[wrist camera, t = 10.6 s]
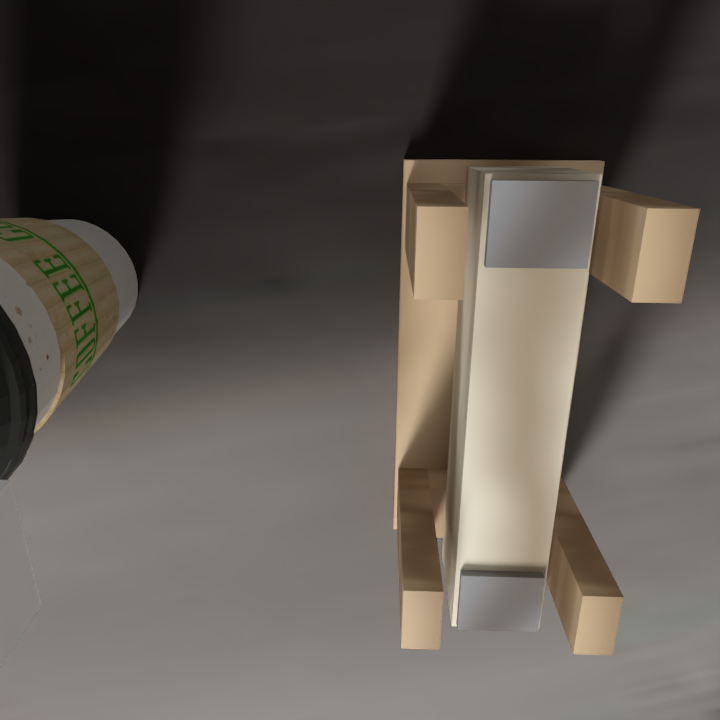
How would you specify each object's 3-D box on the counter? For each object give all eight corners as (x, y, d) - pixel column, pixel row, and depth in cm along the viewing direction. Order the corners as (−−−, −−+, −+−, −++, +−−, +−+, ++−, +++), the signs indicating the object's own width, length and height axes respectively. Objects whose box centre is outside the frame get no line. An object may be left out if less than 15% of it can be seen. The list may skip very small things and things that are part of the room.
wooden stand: (393, 518, 36) (397, 666, 26) (403, 159, 28) (413, 173, 19) (548, 522, 35) (612, 673, 25) (597, 160, 28) (711, 174, 18)
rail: (442, 555, 33) (452, 632, 28) (466, 166, 26) (486, 174, 21) (516, 557, 33) (541, 635, 27) (562, 166, 26) (606, 175, 20)
